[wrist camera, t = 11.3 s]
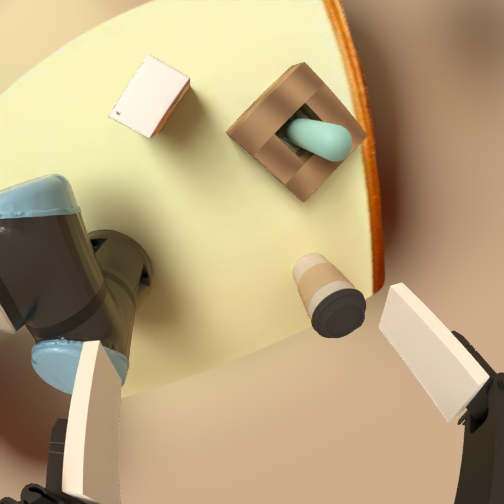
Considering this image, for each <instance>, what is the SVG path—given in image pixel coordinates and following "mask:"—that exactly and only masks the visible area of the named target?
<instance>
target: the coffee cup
mask: <svg viewBox="0 0 504 504" xmlns="http://www.w3.org/2000/svg"><path fill="white" fill-rule="evenodd" d="M293 277H294V279H295V282H296V284H297V287H298V291H299V293H300V296H301V298H302V301H303V303H304V306H305V309H306V311H307V314H308V316H309V317H310V319H311V323H312V326H313V328H314V329H315V330H316V331H317V332H318V333H319V335H321V336H323V337H326V338H340V337H343V336H346V335H348V334H350V333H351V332H352V331H354V330H355V329H357V328H359V327H360V326H361V325H362V323H363V321H364V319H365V314H364V313H365V310H366V301H365V299H364V296H363V294H362V293H361V292H360V291H358V290H356V289H355V287H354V286H353V285H352V284H351V283H350V281H349V280H348V279H347V278H346V277H345V276H344V275H343V274H342V273H341V272H340V271H338V270H337V269H336V268H335V267H334V266H333V265H331V264H330V263H329V262H328V261H327V260H326V259H325V258H324V257H323V256H322V255H321V254H318V253H310V254H307V255H305V256H303V257H302V258H300V259H299V260H298V261H297V263H296V264H295V266H294V269H293Z"/></svg>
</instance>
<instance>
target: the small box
mask: <svg viewBox="0 0 504 504" xmlns="http://www.w3.org/2000/svg"><path fill="white" fill-rule="evenodd" d="M189 87H190V78H189V77H188V76H186V75H184V74H183V73H181V72H179V71H178V70H176V69H174V68H173V67H171V66H169V65H167V64H166V63H164V62H162V61H160V60H158V59H156V58H155V57H153V56H151V55H147V57H146V58H145V60H144V61H143V63H142V64H141V66H140V67H139V69H138V70H137V72H136V73H135V75H134V76H133V78H132V79H131V81H130V82H129V84H128V86H127V87H126V89H125V90H124V92H123V93H122V95H121V97H120V98H119V100H118V101H117V103H116V105H115V106H114V108H113V109H112V111H111V112H110V114H109V115H108V117H110V118H112V119H114V120H115V121H117V122H119V123H121V124H123V125H125V126H127V127H128V128H130V129H132V130H134V131H136V132H137V133H139V134H141V135H143V136H145V137H146V138H148V139H150V138H152V137H153V136H154V135H156V134H157V133H158V132H160V130H161V128H162V127H163V125H164V123H165V122H166V120H167V118H168V117H169V115H170V114H171V112H172V111H173V110H174V108H175V107H176V105H177V104H178V102H179V101H180V99H181V98H182V97H183V95H184V94H185V92H186V91H187V90H188V88H189Z"/></svg>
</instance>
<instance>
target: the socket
mask: <svg viewBox="0 0 504 504" xmlns="http://www.w3.org/2000/svg"><path fill="white" fill-rule="evenodd" d="M298 109H300V110H301V111H302V112H303V113H304V114H305V115H306V116H307V117H308V118H309V119H310V120H316V121H321V122H326V123H331V124H335V125H340V126H342V127H344V128H346V129H347V130H348V132H349V133H350V135H351V138H352V148H351V151H350V153H351V152H352V151H353V150H354V149H355V148H356V147H357V146H358V145H359V144H360V143H361V142H362V141H363V140H364V139H365V138H366V137H367V136H368V135H367V134H366V132H365V131H364V130H363V129H362V127H361V126H360V125H359V123H358V122H357V121H356V120H355V118H354V117H353V116H352V115H351V113H350V112H349V111H348V110H347V109H346V107H345V106H344V105H343V104H342V103H341V101H340V100H339V99H338V98H337V97H336V96H335V94H334V93H333V92H332V91H331V90H330V89H329V88H328V86H327V85H326V84H325V83H324V82H323V81H322V80H321V79H320V78H319V77H318V76H317V74H316V73H315V72H314V71H313V70H312V69H311V68H310V67H309V66H308V65H307V64H306V63H305V62H303V63H300V64H296V65H293V66H291V67H290V68H289V69H288V70H287V71H286V72H285V73H284V74H283V75H282V76H280V77H279V78H278V79H277V80H276V81H275V82H274V83H273V84H272V85H271V86H270V87H269V88H268V89H267V90H266V91H265V92H264V93H263V94H262V95H261V96H260V97H259V98H258V99H257V100H256V101H255V102H254V103H253V104H252V105H251V106H250V107H249V108H248V109H247V110H246V111H245V112H244V113H243V114H242V115H241V116H240V117H239V118H238V119H237V121H236V122H235V123H234V124H233V125H232V126H231V127H230V128H229V129H228V130H227V131H226V133H227V134H228V135H229V136H230V137H232V138H233V139H234V140H235V141H236V142H237V143H239V144H240V145H241V146H242V147H243V148H244V149H246V150H247V151H248V152H249V153H250V154H251V155H252V156H254V157H255V158H256V159H257V160H258V161H259V162H260V163H261V164H262V165H264V166H265V167H266V168H267V169H268V170H269V171H270V172H271V173H272V174H274V175H275V176H276V177H277V178H278V179H279V180H280V181H281V182H282V183H283V184H284V185H285V186H286V187H288V188H289V189H290V190H291V191H292V192H293V193H294V194H295V195H296V196H297V197H298V198H299V199H300V200H301V201H303V202H305V201H306V200H307V199H308V197H309V196H310V195H311V194H312V193H313V192H314V191H315V190H316V189H317V188H318V187H319V186H320V185H321V184H322V183H323V182H324V181H325V180H326V179H327V178H328V177H329V175H330V174H331V173H332V172H333V171H334V170H335V169H336V168H337V167H338V166H339V165H340V164H341V163H342V162H343V161H344V160H345V159H346V158H347V157H348V156H349V154H350V153H349V154H348V156H347V157H346V158H344V159H343V160H341V161H336V162H334V161H329V160H327V159H325V158H323V157H321V156H319V155H317V154H314V153H312V152H310V151H308V150H306V149H303V148H301V149H300V150H299V151H298V152H297V153H296V154H295V153H294V152H293V151H292V150H291V149H290V148H289V147H288V146H287V145H286V144H285V143H283V142H282V141H281V140H280V139H279V138H278V137H277V136H276V135H275V134H274V133H275V132H276V131H277V130H278V129H279V128H280V127H281V126H282V125H283V124H284V123H285V122H286V121H287V120H288V119H289V118H290V117H291V116H292V115H293V114H294V113H295V112H296V111H297V110H298Z"/></svg>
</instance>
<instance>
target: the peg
mask: <svg viewBox="0 0 504 504" xmlns="http://www.w3.org/2000/svg"><path fill="white" fill-rule="evenodd" d="M279 131H280V135H281V137H282V138H283V139H284V140H285V141H287V142H290V143H292V144H294V145H297V146H299V147H301V148H303V149H306V150H308V151H310V152H312V153H314V154H317V155H319V156H321V157H323V158H325V159H327V160H329V161H334V162H336V161H341V160H343V159H344V158H346V157H347V156H348V154H349V153H350V151H351V148H352V138H351V135H350V133H349V132H348V130H347V129H346V128H344V127H342V126H340V125H335V124H331V123H326V122H321V121H316V120H310V119H305V118H299V117H290V118H289V119H288V120H287V121H286V122H285V123H284V124H283V125H282V126H281V127H280V128H279Z"/></svg>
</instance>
